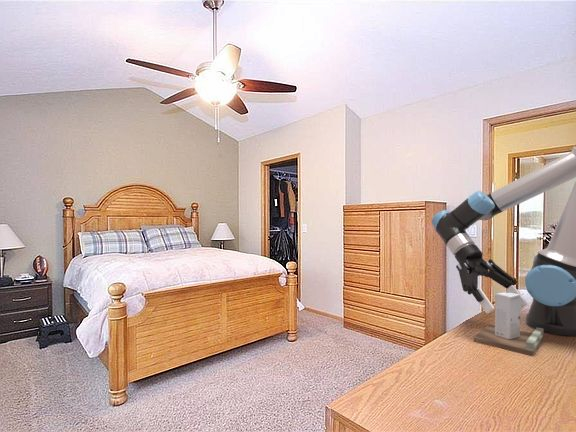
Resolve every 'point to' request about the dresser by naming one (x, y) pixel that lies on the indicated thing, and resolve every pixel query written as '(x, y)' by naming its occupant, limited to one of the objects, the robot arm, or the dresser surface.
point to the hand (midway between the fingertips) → (507, 308)
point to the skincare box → (507, 315)
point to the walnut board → (511, 340)
